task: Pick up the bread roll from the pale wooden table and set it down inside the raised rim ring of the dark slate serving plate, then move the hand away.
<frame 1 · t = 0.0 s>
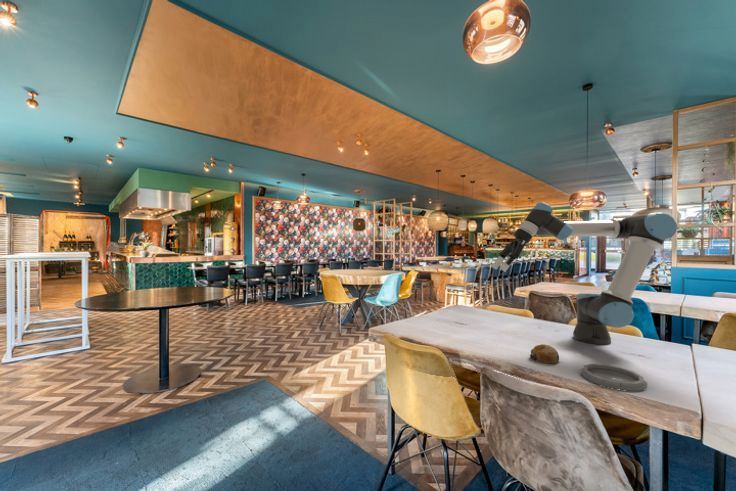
hand: (497, 269, 142), 36 cm above the table, tool tilted 35°, fingers open, 13 cm apart
slate plate: (612, 379, 105), on the table
bread roll: (544, 360, 124), on the table
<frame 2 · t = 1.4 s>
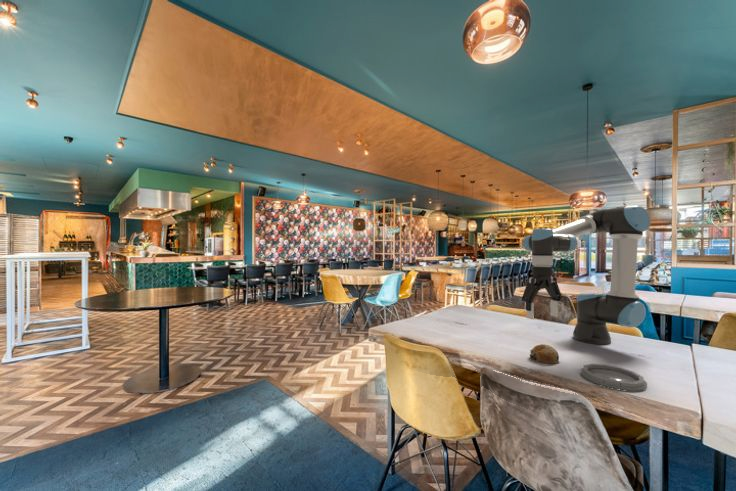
hand: (542, 317, 124), 17 cm above the table, tool pointing down, fingers open, 13 cm apart
nothing on the table moved.
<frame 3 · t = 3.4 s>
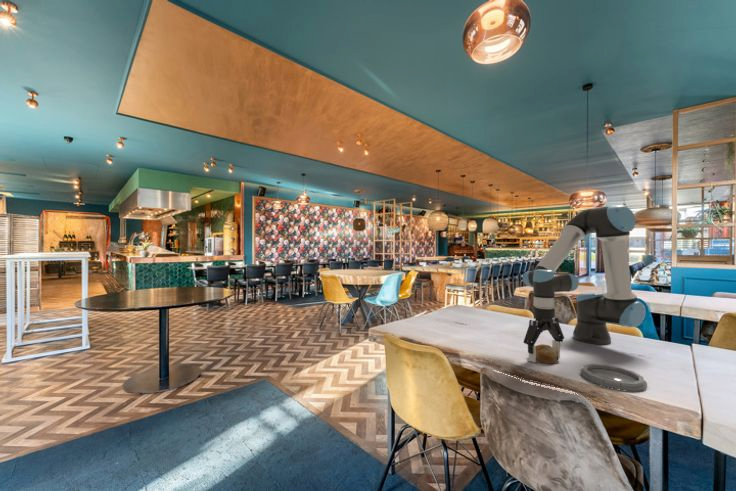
hand: (544, 359, 124), 0 cm above the table, tool pointing down, fingers open, 13 cm apart
nothing on the table moved.
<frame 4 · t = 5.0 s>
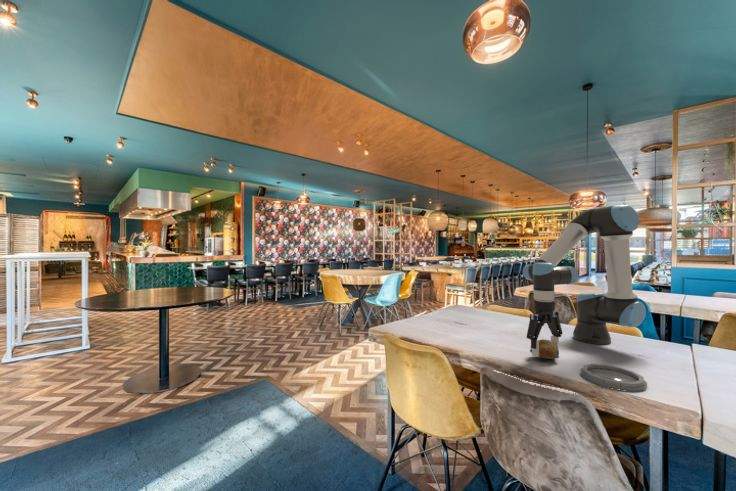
hand: (545, 354, 124), 2 cm above the table, tool pointing down, fingers closed on bread roll, 10 cm apart
bread roll: (544, 355, 124), point 2 cm above the table, touching gripper
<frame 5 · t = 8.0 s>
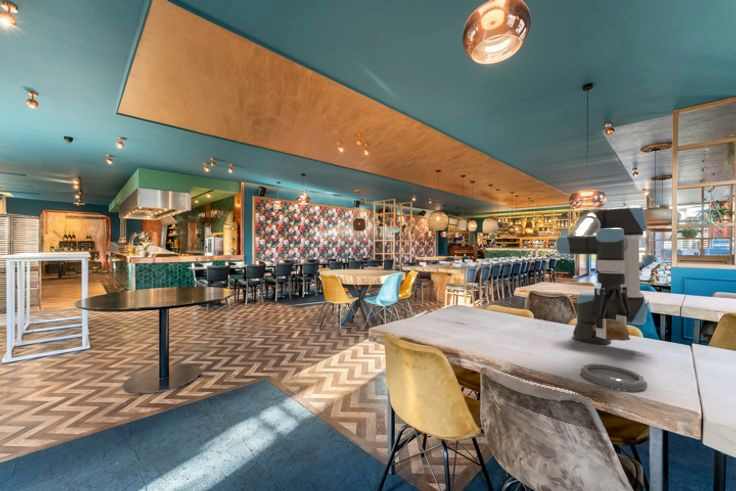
hand: (611, 335, 105), 15 cm above the table, tool pointing down, fingers closed on bread roll, 10 cm apart
bread roll: (610, 337, 105), point 15 cm above the table, touching gripper
when the fingers open (3 cm above the table, at t = 11.0 s): bread roll drops 2 cm, resting on slate plate.
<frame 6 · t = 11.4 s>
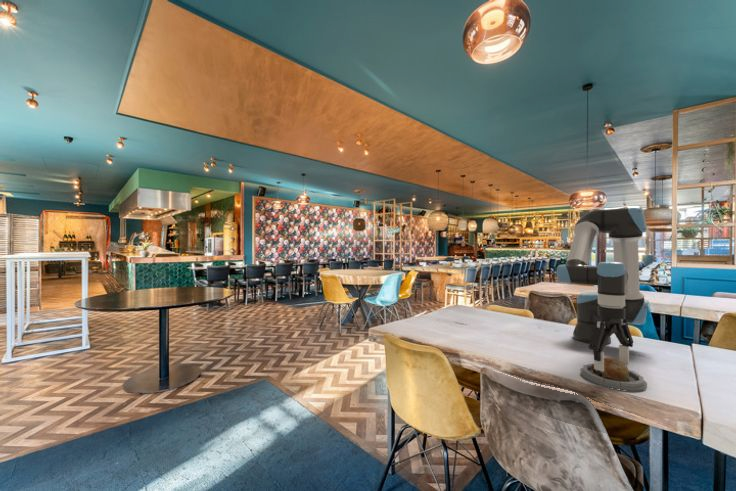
hand: (611, 367, 105), 4 cm above the table, tool pointing down, fingers open, 13 cm apart
bread roll: (610, 376, 105), point 1 cm above the table, touching slate plate
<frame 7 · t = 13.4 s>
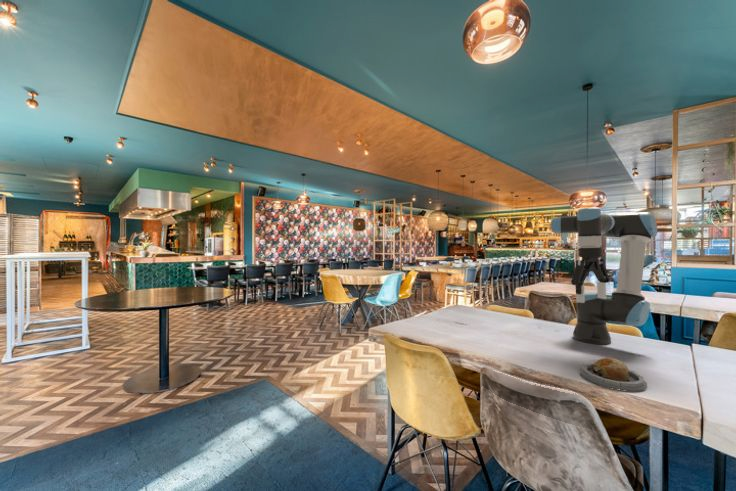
hand: (591, 300, 120), 25 cm above the table, tool pointing down, fingers open, 13 cm apart
nothing on the table moved.
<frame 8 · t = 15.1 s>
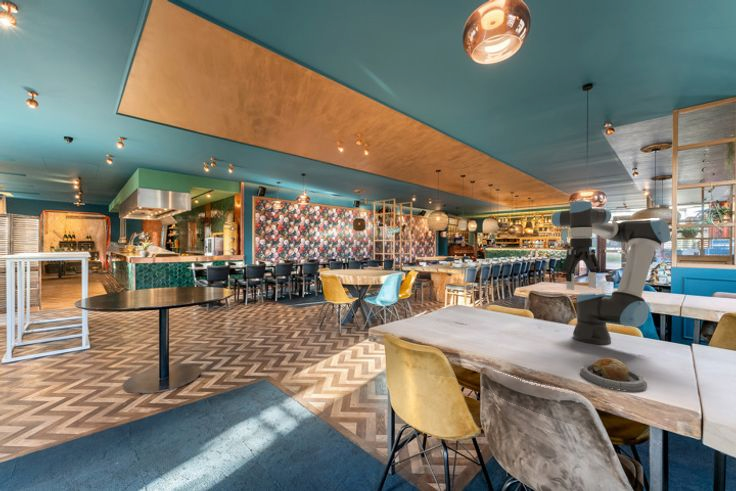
hand: (581, 288, 126), 29 cm above the table, tool pointing down, fingers open, 13 cm apart
nothing on the table moved.
at the end: bread roll inside the target area on the slate plate (0.4 cm from its centre), point 0.8 cm above the slate plate's base; the gripper is holding nothing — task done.
